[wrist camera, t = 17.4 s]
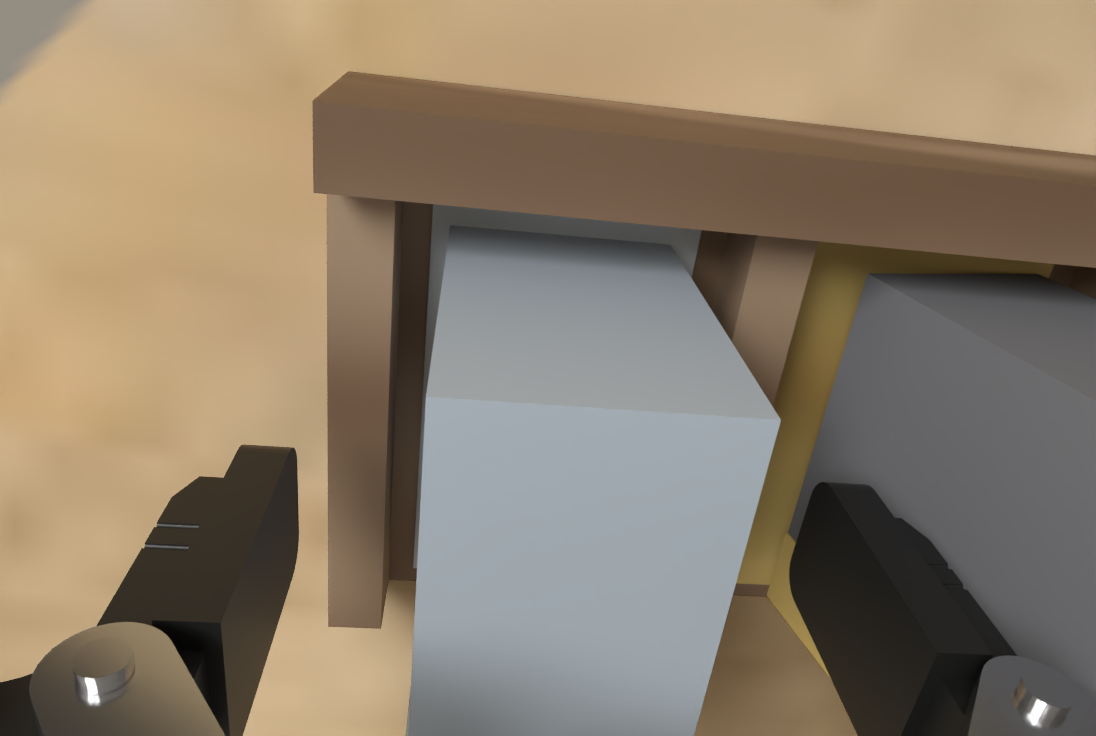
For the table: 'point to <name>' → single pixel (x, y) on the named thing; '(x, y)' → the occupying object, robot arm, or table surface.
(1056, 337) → the plug
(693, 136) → the brown divided tray
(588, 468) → the plug
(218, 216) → the table surface
